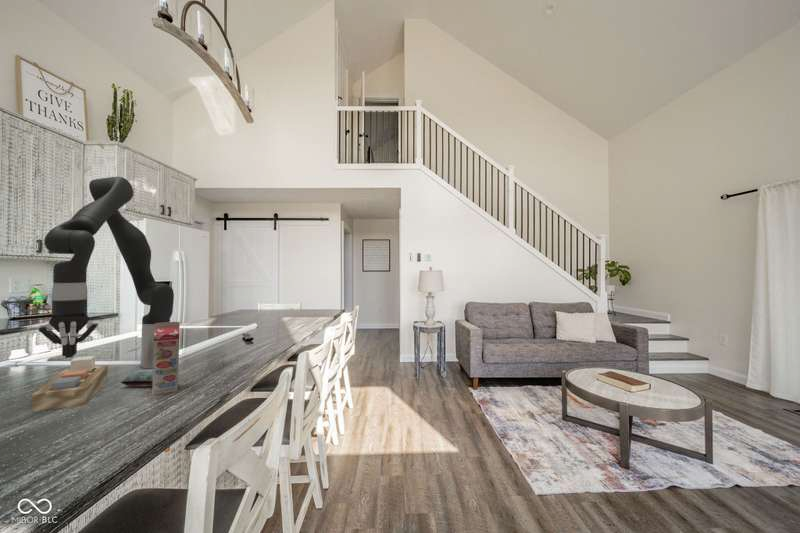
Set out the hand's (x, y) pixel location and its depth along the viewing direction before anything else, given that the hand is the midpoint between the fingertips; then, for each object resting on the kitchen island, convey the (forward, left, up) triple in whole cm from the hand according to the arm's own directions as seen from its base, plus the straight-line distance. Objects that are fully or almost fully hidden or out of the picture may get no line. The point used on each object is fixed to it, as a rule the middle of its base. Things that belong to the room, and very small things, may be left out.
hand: (69, 357), depth 100 cm
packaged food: (-18, -9, -14) cm, 24 cm away
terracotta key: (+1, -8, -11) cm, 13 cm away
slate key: (+1, 0, -11) cm, 11 cm away
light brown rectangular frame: (+1, -8, -13) cm, 15 cm away
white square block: (+1, -16, -8) cm, 18 cm away
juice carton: (-24, +1, -13) cm, 27 cm away
